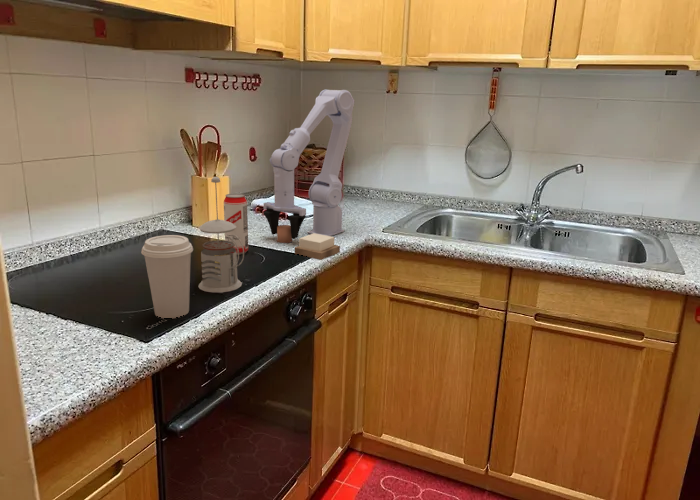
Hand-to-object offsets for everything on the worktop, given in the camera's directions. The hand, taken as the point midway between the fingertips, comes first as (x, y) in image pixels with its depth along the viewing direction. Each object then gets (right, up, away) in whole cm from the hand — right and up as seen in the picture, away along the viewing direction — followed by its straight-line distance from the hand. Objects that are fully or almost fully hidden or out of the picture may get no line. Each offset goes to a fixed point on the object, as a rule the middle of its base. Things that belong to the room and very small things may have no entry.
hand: (284, 235), depth 160 cm
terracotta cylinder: (0, -2, 0) cm, 2 cm away
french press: (-10, -13, -37) cm, 40 cm away
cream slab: (+10, -3, -11) cm, 15 cm away
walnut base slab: (+10, -6, -10) cm, 16 cm away
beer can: (-12, -5, -12) cm, 17 cm away
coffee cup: (-16, -17, -52) cm, 57 cm away
